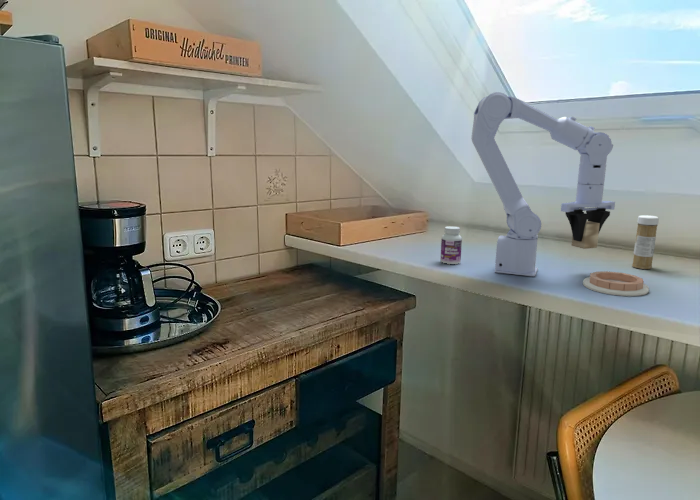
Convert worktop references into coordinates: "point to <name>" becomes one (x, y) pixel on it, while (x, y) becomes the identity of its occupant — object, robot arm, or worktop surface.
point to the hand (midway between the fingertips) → (584, 240)
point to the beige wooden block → (588, 236)
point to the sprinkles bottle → (645, 241)
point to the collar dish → (616, 284)
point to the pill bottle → (451, 245)
